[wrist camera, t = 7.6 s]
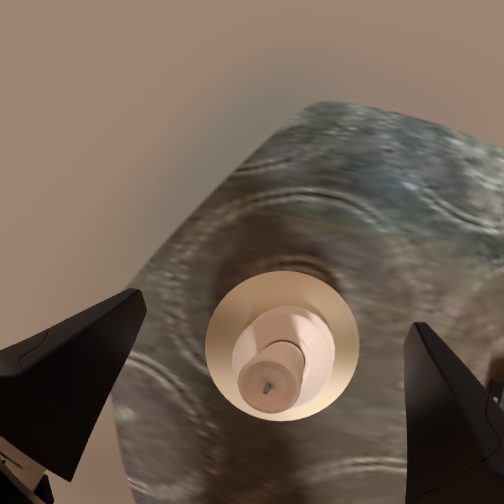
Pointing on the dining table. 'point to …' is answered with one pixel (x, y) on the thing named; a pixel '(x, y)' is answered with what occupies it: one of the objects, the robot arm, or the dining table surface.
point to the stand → (262, 300)
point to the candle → (283, 359)
